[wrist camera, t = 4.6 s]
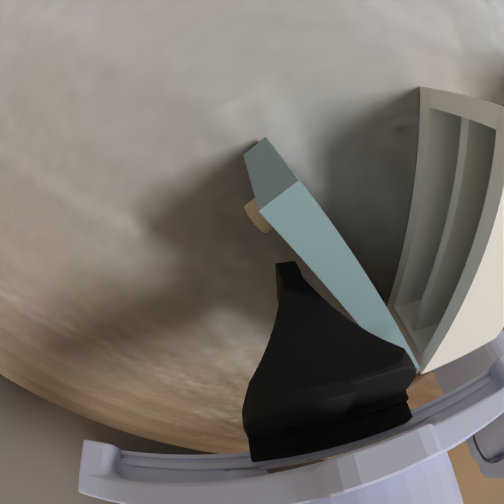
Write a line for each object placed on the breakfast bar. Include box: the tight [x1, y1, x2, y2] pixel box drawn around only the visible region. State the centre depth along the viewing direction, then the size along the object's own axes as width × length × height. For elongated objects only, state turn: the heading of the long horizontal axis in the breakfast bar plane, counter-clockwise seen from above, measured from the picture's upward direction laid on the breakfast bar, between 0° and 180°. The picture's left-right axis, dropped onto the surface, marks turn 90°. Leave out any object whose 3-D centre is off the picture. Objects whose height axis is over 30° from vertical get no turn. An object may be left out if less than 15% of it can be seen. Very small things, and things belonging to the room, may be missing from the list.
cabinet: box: [387, 87, 504, 374], centre depth 12 cm, size 15×8×6 cm, turn 6°
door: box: [243, 137, 420, 374], centre depth 12 cm, size 14×2×6 cm, turn 39°
